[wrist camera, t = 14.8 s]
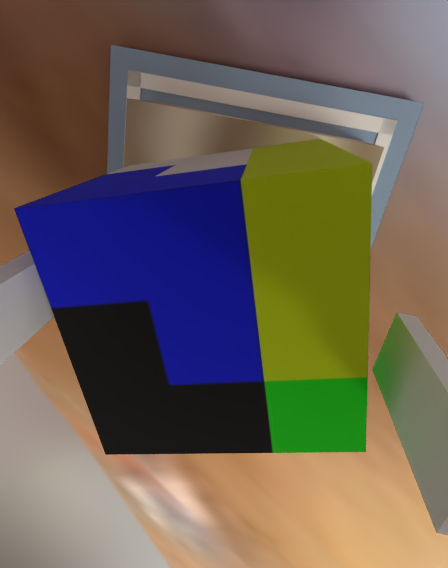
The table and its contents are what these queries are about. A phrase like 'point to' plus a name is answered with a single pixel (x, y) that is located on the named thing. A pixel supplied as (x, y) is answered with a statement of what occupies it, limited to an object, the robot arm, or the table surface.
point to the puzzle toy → (216, 299)
